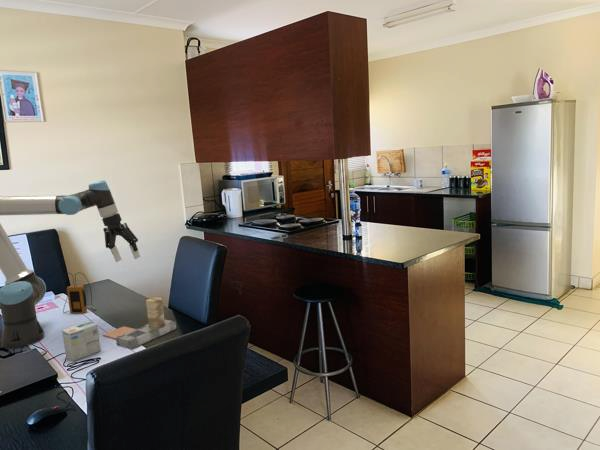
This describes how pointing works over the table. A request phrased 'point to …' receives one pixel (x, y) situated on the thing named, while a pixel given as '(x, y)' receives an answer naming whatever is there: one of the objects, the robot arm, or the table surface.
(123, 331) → the pad
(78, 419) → the table surface
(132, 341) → the rail
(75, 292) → the multimeter
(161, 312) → the peg
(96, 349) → the light bulb box
